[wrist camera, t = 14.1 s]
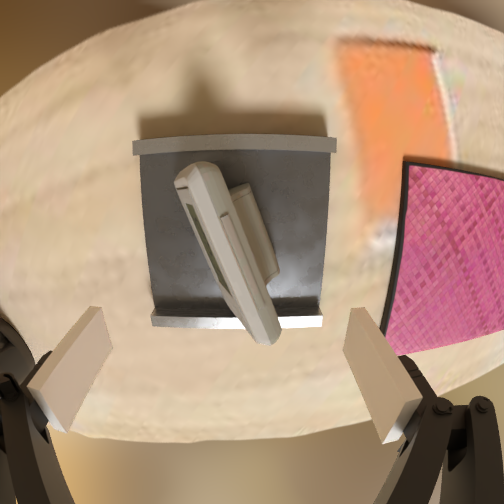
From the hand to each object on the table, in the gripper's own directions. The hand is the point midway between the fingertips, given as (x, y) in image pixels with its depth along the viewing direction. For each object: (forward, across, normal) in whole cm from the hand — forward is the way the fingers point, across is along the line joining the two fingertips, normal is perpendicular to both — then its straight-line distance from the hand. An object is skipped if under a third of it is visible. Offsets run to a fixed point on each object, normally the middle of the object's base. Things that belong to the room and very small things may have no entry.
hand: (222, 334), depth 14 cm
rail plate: (+19, 0, 0) cm, 19 cm away
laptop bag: (+20, +40, -4) cm, 44 cm away
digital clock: (+18, -1, 0) cm, 18 cm away
